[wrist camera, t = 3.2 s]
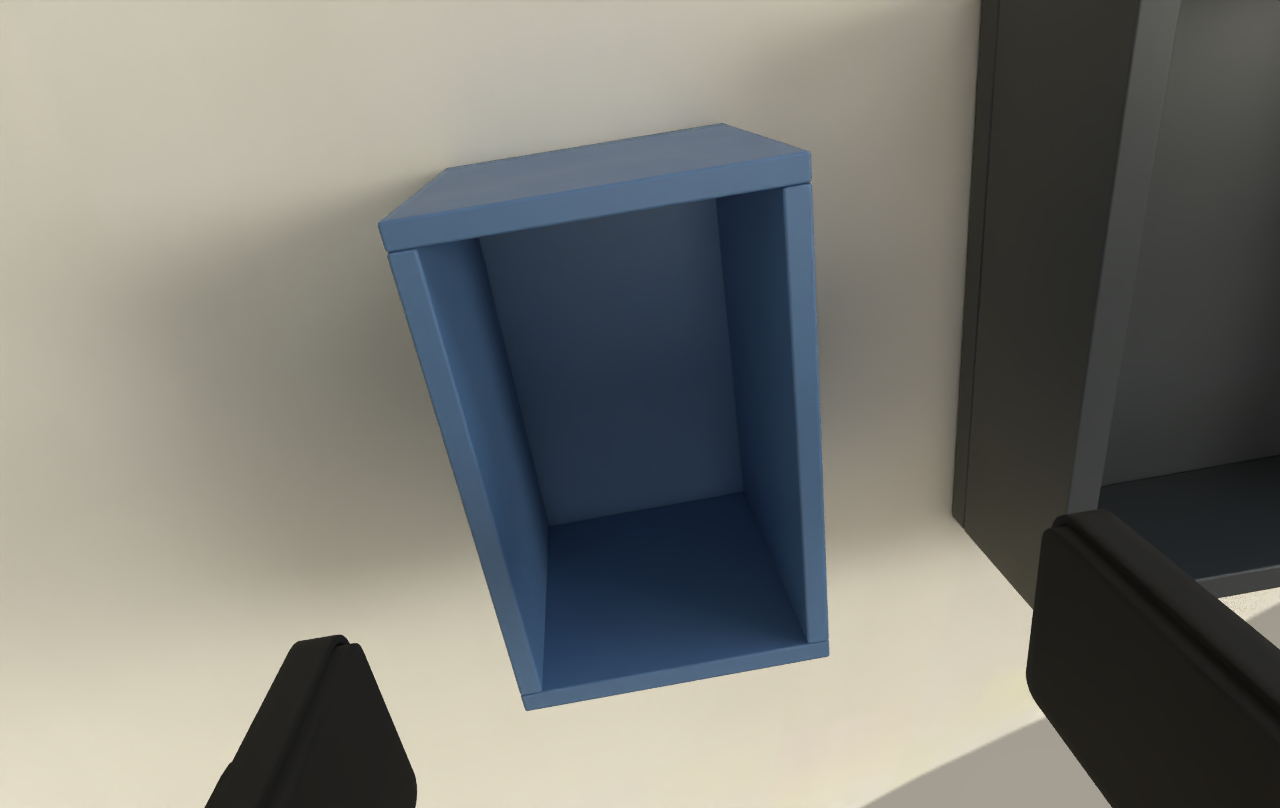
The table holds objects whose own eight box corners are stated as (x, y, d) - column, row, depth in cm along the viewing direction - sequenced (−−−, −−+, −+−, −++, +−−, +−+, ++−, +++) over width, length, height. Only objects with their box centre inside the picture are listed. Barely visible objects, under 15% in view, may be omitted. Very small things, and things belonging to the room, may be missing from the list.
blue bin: (537, 530, 22) (525, 712, 16) (445, 168, 17) (375, 222, 11) (755, 492, 22) (830, 657, 16) (723, 122, 18) (811, 150, 11)
